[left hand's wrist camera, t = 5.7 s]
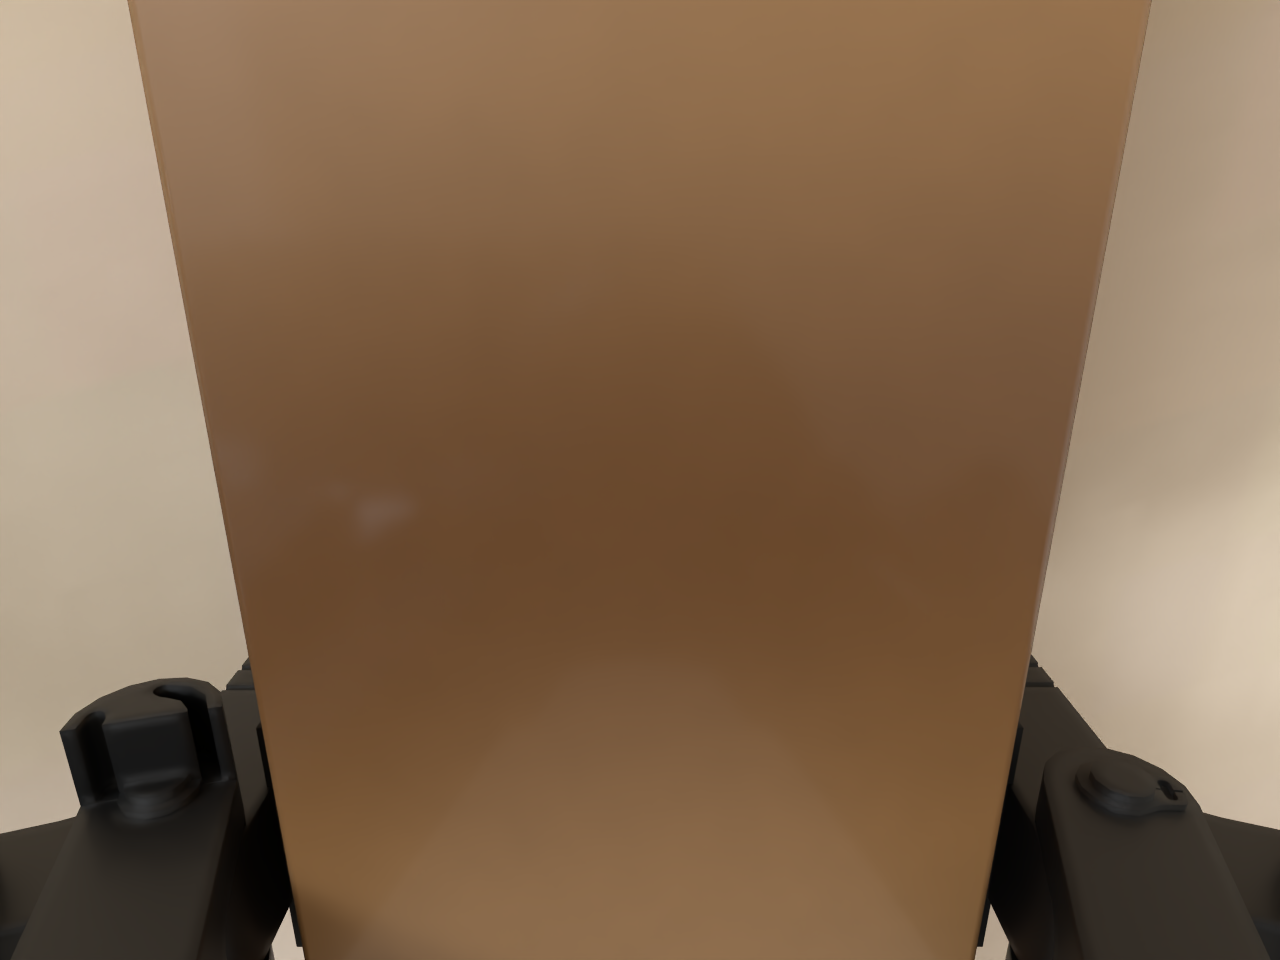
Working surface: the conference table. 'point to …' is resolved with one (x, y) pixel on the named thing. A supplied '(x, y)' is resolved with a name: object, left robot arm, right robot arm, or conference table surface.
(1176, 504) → the conference table surface
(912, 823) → the beam
